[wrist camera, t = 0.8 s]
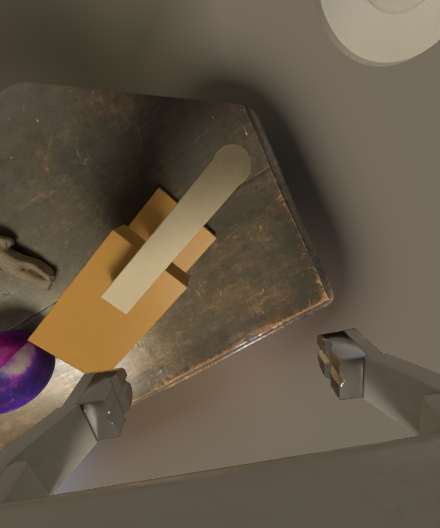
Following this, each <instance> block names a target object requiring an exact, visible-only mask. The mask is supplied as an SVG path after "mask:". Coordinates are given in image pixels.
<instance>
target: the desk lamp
mask: <svg viewBox="0 0 440 528" xmlns="http://www.w3.org/2000/svg"><path fill="white" fill-rule="evenodd" d="M177 203H178V202H177V201H176V200H175V199H173V198H172V197H171V196H170V195H169V194H168V193H167V192H165V191H164V190H163V189H162V188H158V189H157V190H156V192H155V193H154V194H153V196H152V197H151V198H150V199H149V201H148V202H147V203H146V204H145V206H144V207H143V208H142V209H141V211H140V212H139V213H138V215H137V216H136V217H135V218H134V220H133V221H132V222H131V223H130V225H129V226H128V227H127V226H126V225H123V226H120V227H118V228H116V229H113V230H112V231H111V232H110V234H109V235H108V236H107V238H106V239H105V240H104V242H103V243H102V244H101V245H100V247H99V248H98V249H97V251H96V252H95V253H94V254H93V256H92V257H91V258H90V260H89V261H88V262H87V264H86V265H85V266H84V267H83V269H82V270H81V271H80V273H79V274H78V275H77V276H76V278H75V279H74V280H73V282H72V283H71V284H70V286H69V287H68V288H67V289H66V291H65V292H64V293H63V295H62V296H61V297H60V298H59V300H58V301H57V302H56V304H55V305H54V306H53V308H52V309H51V310H50V311H49V313H48V314H47V315H46V317H45V318H44V319H43V320H42V322H41V323H40V324H39V326H38V327H37V328H36V329H35V331H34V332H33V333H32V335H31V336H30V337H29V339H28V341H30V342H32V343H33V344H35V345H37V346H38V347H40V348H42V349H44V350H45V351H47V352H49V353H50V354H52V355H54V356H56V357H57V358H59V359H61V360H63V361H64V362H66V363H68V364H69V365H71V366H73V367H75V368H76V369H78V370H80V371H81V372H83V373H85V374H86V373H90V372H97V371H102V370H109V369H113V368H114V367H115V366H116V365H117V364H118V363H119V362H120V361H121V360H122V358H123V357H124V356H125V355H126V354H127V353H128V352H129V351H130V350H131V349H132V348H133V346H134V345H135V344H136V343H137V342H138V341H139V340H140V339H141V338H142V337H143V336H144V334H145V333H146V332H147V331H148V330H149V329H150V328H151V327H152V326H153V325H154V324H155V322H156V321H157V320H158V319H159V318H160V317H161V316H162V315H163V314H164V313H165V312H166V310H167V309H168V308H169V307H170V306H171V305H172V304H173V303H174V302H175V301H176V300H177V298H178V297H179V296H180V295H181V294H182V293H183V292H184V291H185V290H186V289H187V287H188V282H189V277H190V276H189V275H188V274H187V273H186V272H187V271H188V270H189V268H190V267H191V266H192V265H193V264H194V263H195V262H196V261H197V260H198V258H199V257H200V256H201V255H202V254H203V253H204V252H205V251H206V250H207V248H208V247H209V246H210V245H211V244H212V243H213V242H214V241H215V240H216V238H217V237H216V235H214V234H213V233H212V232H211V231H210V230H209V229H208V228H207V227H205V226H203V227H202V228H201V229H200V230H199V231H198V233H197V234H196V235H195V236H194V237H193V238H192V240H191V241H190V242H189V243H188V244H187V245H186V246H185V248H184V249H183V250H182V251H181V252H180V253H179V254H178V256H177V257H176V258H175V259H174V260H173V261H172V262H171V264H170V265H169V266H168V267H167V268H166V269H165V271H164V272H163V273H162V274H161V275H160V276H159V277H158V279H157V280H156V281H155V282H154V283H153V284H152V285H151V287H150V288H149V289H148V290H147V291H146V292H145V293H144V295H143V296H142V297H141V298H140V299H139V300H138V302H137V303H136V304H135V305H134V306H133V307H132V308H131V310H130V311H129V312H128V313H127V314H125V313H123V312H122V311H120V310H119V309H117V308H116V307H114V306H113V305H112V304H110V303H109V302H107V301H106V300H104V299H103V298H101V296H102V294H103V293H104V292H105V291H106V290H107V288H108V287H109V286H110V285H111V283H112V282H113V281H114V280H115V279H116V277H117V276H118V275H119V274H120V273H121V271H122V270H123V269H124V268H125V266H126V265H127V264H128V263H129V262H130V260H131V259H132V258H133V257H134V255H135V254H136V253H137V252H138V251H139V249H140V248H141V247H142V246H143V245H144V243H145V242H146V241H147V240H148V238H149V237H150V236H151V235H152V234H153V232H154V231H155V230H156V229H157V227H158V226H159V225H160V224H161V223H162V221H163V220H164V219H165V218H166V217H167V215H168V214H169V213H170V212H171V210H172V209H173V208H174V207H175V206H176V204H177Z"/></svg>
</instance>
